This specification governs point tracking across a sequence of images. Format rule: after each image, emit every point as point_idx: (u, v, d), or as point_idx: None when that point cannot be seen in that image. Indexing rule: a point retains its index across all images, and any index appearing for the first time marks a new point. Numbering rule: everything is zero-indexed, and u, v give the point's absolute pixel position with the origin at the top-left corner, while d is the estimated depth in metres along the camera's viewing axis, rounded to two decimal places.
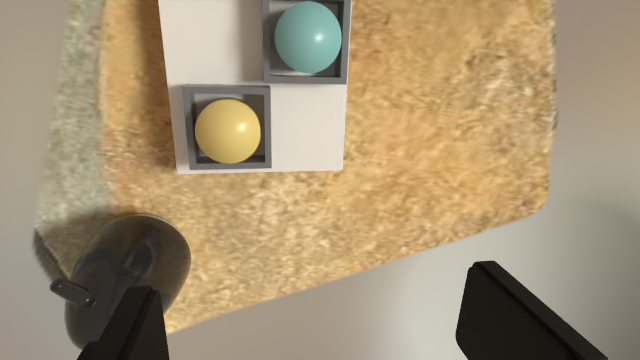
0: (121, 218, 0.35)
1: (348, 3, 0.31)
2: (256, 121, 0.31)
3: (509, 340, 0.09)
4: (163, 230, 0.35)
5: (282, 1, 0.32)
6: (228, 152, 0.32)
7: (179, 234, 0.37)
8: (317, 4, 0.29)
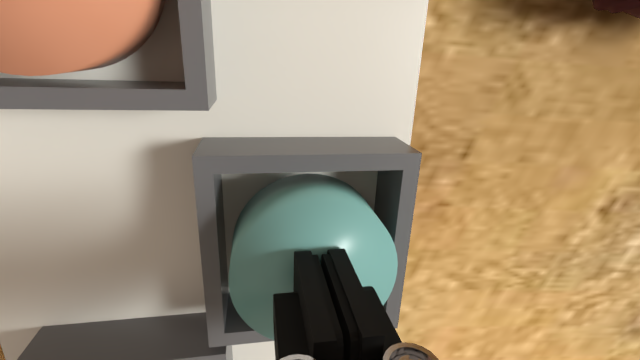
0: None
1: (412, 175, 0.13)
2: None
3: None
4: None
5: None
6: None
7: None
8: (339, 204, 0.11)
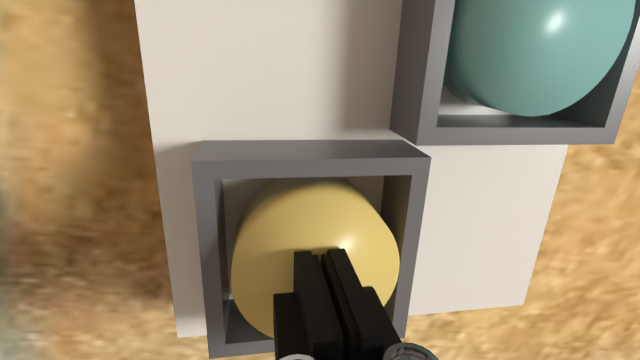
0: None
1: None
2: (393, 245, 0.12)
3: None
4: None
5: None
6: None
7: None
8: None
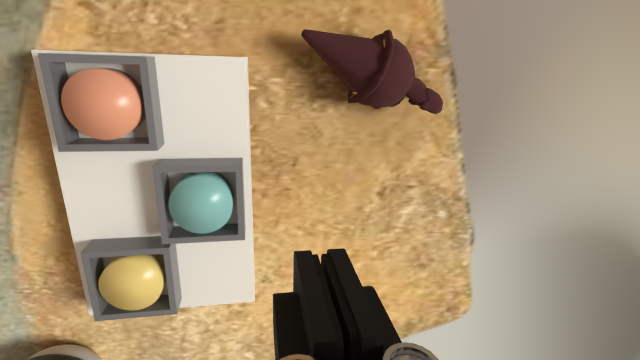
0: (34, 359, 0.36)
1: (240, 173, 0.32)
2: (157, 275, 0.34)
3: None
4: None
5: None
6: (132, 301, 0.34)
7: None
8: (206, 179, 0.32)
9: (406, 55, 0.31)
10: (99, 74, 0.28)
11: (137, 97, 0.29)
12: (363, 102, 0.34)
